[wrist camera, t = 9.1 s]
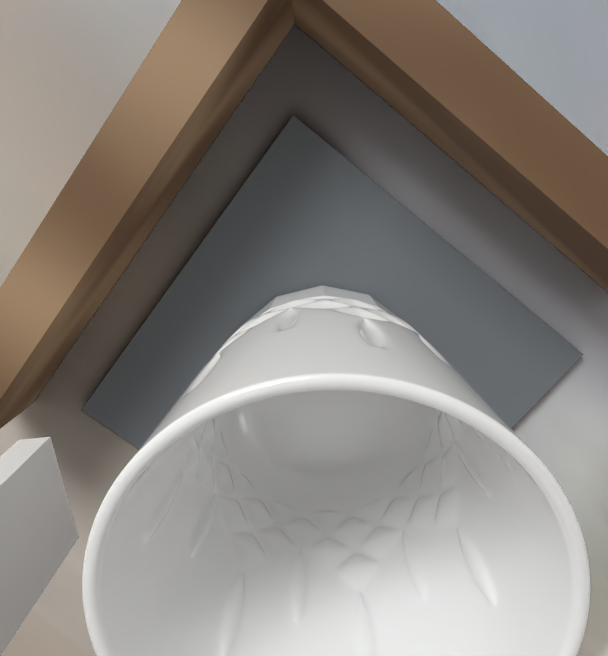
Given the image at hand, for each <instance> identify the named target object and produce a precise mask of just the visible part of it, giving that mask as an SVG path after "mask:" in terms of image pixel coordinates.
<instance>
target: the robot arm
mask: <svg viewBox="0 0 608 656" xmlns="http://www.w3.org/2000/svg"><path fill="white" fill-rule="evenodd" d="M78 538H79V536H78V533H77V529H76V526H75V522H74V518H73V515H72V511H71V508H70V504H69V501H68V497H67V494H66V490H65V486H64V483H63V479H62V476H61V472H60V469H59V465H58V462H57V458H56V454H55V451H54V447H53V444H52V440H51V437H42V438H33V439H23V440H18V441H17V442H16V443H15V444H14V445H13V446H12V447H10V448H9V449H8V450H7V451H6V452H5V453H4V454H2V455H1V456H0V656H1V654H2V653H3V651H4V650H5V648H6V647H7V645H8V644H9V642H10V641H11V639H12V638H13V636H14V634H15V633H16V631H17V630H18V628H19V627H20V625H21V624H22V622H23V621H24V619H25V618H26V616H27V615H28V613H29V612H30V610H31V609H32V607H33V606H34V604H35V603H36V601H37V600H38V598H39V597H40V595H41V594H42V592H43V591H44V589H45V588H46V586H47V584H48V583H49V581H50V580H51V578H52V577H53V575H54V574H55V572H56V571H57V569H58V568H59V566H60V565H61V563H62V562H63V560H64V559H65V557H66V556H67V554H68V553H69V551H70V550H71V548H72V547H73V545H74V544H75V542H76V541H77V539H78Z"/></svg>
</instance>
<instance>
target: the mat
mask: <svg viewBox="0 0 608 656" xmlns="http://www.w3.org/2000/svg"><path fill="white" fill-rule="evenodd" d="M321 285H324V286H329V287H334V288H339V289H344V290H349V291H354V292H359V293H364V294H368V295H370V296H372V297H373V298H374V299H376V300H377V301H378V302H380V303H381V304H382V305H383V306H385V307H386V308H387V309H389V310H390V311H391V312H393V313H394V314H395V315H397V316H398V317H399V318H400V319H402V320H404V321H405V322H406V323H408V324H409V325H410V326H411V327H413V328H414V329H415V330H416V331H417V332H418V333H419V334H420V335H421V336H422V337H423V338H424V339H425V340H426V341H428V342H429V343H430V344H431V345H432V346H433V347H434V348H435V349H436V350H437V351H438V352H439V353H440V354H441V355H442V356H443V357H444V358H445V359H446V360H447V361H448V362H449V363H450V364H451V365H452V366H453V367H454V368H455V369H456V370H457V371H458V373H459V374H460V375H461V376H462V377H463V378H464V379H465V380H466V381H467V382H468V383H469V384H470V386H471V387H472V388H473V389H474V390H475V391H476V392H477V393H478V394H479V395H480V396H481V397H482V398H483V400H484V401H485V402H486V403H487V404H488V405H489V406H490V407H491V408H492V409H493V410H494V411H495V412H496V413H497V415H498V416H499V417H500V418H501V419H502V420H503V421H504V422H505V423H506V424H507V425H508V426H509V427H510V428H512V427H513V426H514V425H515V424H516V423H517V422H518V421H519V420H520V419H521V418H522V417H523V416H524V415H525V414H526V413H527V412H528V411H529V410H530V409H531V408H532V407H533V406H534V405H535V404H536V403H537V402H538V401H539V400H540V399H541V398H542V396H543V395H544V394H545V393H546V392H547V391H548V390H549V389H550V388H551V387H552V386H553V385H554V384H555V383H556V382H557V381H558V380H559V379H560V378H561V377H562V376H563V375H564V374H565V373H566V372H567V371H568V370H569V369H570V368H571V367H572V366H573V364H574V363H575V362H576V361H577V360H578V359H579V358H580V357H581V356H582V355H583V354H582V353H581V352H580V351H579V350H578V349H576V348H575V347H574V346H573V345H572V344H570V343H569V342H568V341H567V340H565V339H564V338H563V337H562V336H561V335H559V334H558V333H557V332H556V331H555V330H553V329H552V328H551V327H550V326H548V325H547V324H546V323H545V322H544V321H542V320H541V319H540V318H539V317H538V316H536V315H535V314H534V313H533V312H531V311H530V310H529V309H528V308H527V307H525V306H524V305H523V304H522V303H521V302H519V301H518V300H517V299H516V298H515V297H513V296H512V295H511V294H510V293H508V292H507V291H506V290H505V289H504V288H502V287H501V286H500V285H499V284H498V283H496V282H495V281H494V280H493V279H491V278H490V277H489V276H488V275H487V274H485V273H484V272H483V271H482V270H481V269H479V268H478V267H477V266H476V265H474V264H473V263H472V262H471V261H470V260H468V259H467V258H466V257H465V256H464V255H462V254H461V253H460V252H459V251H458V250H456V249H455V248H454V247H453V246H451V245H450V244H449V243H448V242H447V241H445V240H444V239H443V238H442V237H441V236H439V235H438V234H437V233H436V232H434V231H433V230H432V229H431V228H430V227H428V226H427V225H426V224H425V223H424V222H422V221H421V220H420V219H419V218H417V217H416V216H415V215H414V214H413V213H411V212H410V211H409V210H408V209H407V208H405V207H404V206H403V205H402V204H400V203H399V202H398V201H397V200H396V199H394V198H393V197H392V196H391V195H390V194H388V193H387V192H386V191H385V190H384V189H382V188H381V187H380V186H379V185H377V184H376V183H375V182H374V181H373V180H371V179H370V178H369V177H368V176H367V175H365V174H364V173H363V172H362V171H360V170H359V169H358V168H357V167H356V166H354V165H353V164H352V163H351V162H350V161H348V160H347V159H346V158H345V157H343V156H342V155H341V154H340V153H339V152H337V151H336V150H335V149H334V148H333V147H331V146H330V145H329V144H328V143H327V142H325V141H324V140H323V139H322V138H320V137H319V136H318V135H317V134H316V133H314V132H313V131H312V130H311V129H310V128H308V127H307V126H306V125H305V124H303V123H302V122H301V121H300V120H299V119H297V118H296V117H295V116H294V115H293V116H292V118H291V119H290V120H289V122H288V123H287V125H286V126H285V127H284V129H283V130H282V131H281V133H280V134H279V136H278V137H277V138H276V140H275V141H274V143H273V144H272V145H271V147H270V148H269V150H268V151H267V152H266V154H265V155H264V157H263V158H262V159H261V161H260V162H259V163H258V165H257V166H256V168H255V169H254V170H253V172H252V173H251V175H250V176H249V177H248V179H247V180H246V182H245V183H244V184H243V186H242V187H241V188H240V190H239V191H238V193H237V194H236V195H235V197H234V198H233V200H232V201H231V202H230V204H229V205H228V207H227V208H226V209H225V211H224V212H223V214H222V215H221V216H220V218H219V219H218V220H217V222H216V223H215V225H214V226H213V227H212V229H211V230H210V232H209V233H208V234H207V236H206V237H205V239H204V240H203V241H202V243H201V244H200V246H199V247H198V248H197V250H196V251H195V252H194V254H193V255H192V257H191V258H190V259H189V261H188V262H187V264H186V265H185V266H184V268H183V269H182V271H181V272H180V273H179V275H178V276H177V277H176V279H175V280H174V282H173V283H172V284H171V286H170V287H169V289H168V290H167V291H166V293H165V294H164V296H163V297H162V298H161V300H160V301H159V303H158V304H157V305H156V307H155V308H154V309H153V311H152V312H151V314H150V315H149V316H148V318H147V319H146V321H145V322H144V323H143V325H142V326H141V328H140V329H139V330H138V332H137V333H136V334H135V336H134V337H133V339H132V340H131V341H130V343H129V344H128V346H127V347H126V348H125V350H124V351H123V353H122V354H121V355H120V357H119V358H118V360H117V361H116V362H115V364H114V365H113V366H112V368H111V369H110V371H109V372H108V373H107V375H106V376H105V378H104V379H103V380H102V382H101V383H100V385H99V386H98V387H97V389H96V390H95V392H94V393H93V394H92V396H91V397H90V398H89V400H88V401H87V403H86V404H85V405H84V407H83V408H82V410H81V411H83V412H84V413H86V414H87V415H89V416H90V417H92V418H93V419H95V420H96V421H98V422H99V423H100V424H102V425H103V426H105V427H106V428H108V429H109V430H111V431H112V432H114V433H115V434H117V435H118V436H120V437H121V438H123V439H124V440H126V441H127V442H129V443H130V444H132V445H133V446H135V447H136V448H138V449H140V448H141V446H142V445H143V444H144V442H145V441H146V440H147V439H148V437H149V436H150V435H151V434H152V432H153V431H154V430H155V429H156V427H157V426H158V425H159V424H160V422H161V421H162V420H163V418H164V417H165V416H166V415H167V413H168V412H169V411H170V409H171V408H172V407H173V406H174V404H175V403H176V402H177V400H178V399H179V398H180V396H181V395H182V394H183V393H184V391H185V390H186V389H187V387H188V386H189V385H190V384H191V382H192V381H193V380H194V378H195V377H196V376H197V374H198V373H199V372H200V371H201V370H202V368H203V367H204V366H205V365H206V364H207V363H208V362H209V361H210V360H211V359H212V358H213V356H214V355H215V354H216V353H217V351H218V350H219V349H220V348H221V347H222V346H223V345H224V343H225V342H226V341H227V340H228V339H229V338H230V337H231V336H232V335H233V334H234V333H235V332H236V331H237V330H238V329H239V328H240V327H241V326H242V325H243V324H244V323H245V322H246V321H247V320H249V319H250V318H251V317H252V316H254V315H255V314H256V313H257V312H258V311H260V310H261V309H262V308H263V307H264V306H266V305H267V304H268V303H269V302H270V301H272V300H273V299H274V298H275V297H277V296H281V295H285V294H289V293H293V292H297V291H301V290H305V289H309V288H313V287H317V286H321Z"/></svg>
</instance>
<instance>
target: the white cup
mask: <svg viewBox="0 0 608 656" xmlns="http://www.w3.org/2000/svg"><path fill="white" fill-rule="evenodd" d="M590 593H591V582H590V568H589V560H588V554H587V549H586V545H585V541H584V538H583V534H582V531H581V528H580V525H579V523H578V520H577V518H576V515H575V513H574V511H573V508H572V506H571V504H570V502H569V500H568V499H567V497H566V495H565V493H564V491H563V490H562V488H561V487H560V485H559V483H558V482H557V481H556V479H555V478H554V476H553V475H552V474H551V472H550V471H549V470H548V468H547V467H546V466H545V465H544V463H543V462H542V461H541V460H540V459H539V458H538V457H537V455H536V454H535V453H534V452H533V451H532V450H531V449H530V448H529V447H528V446H527V445H526V444H525V443H524V442H523V441H522V440H521V439H520V438H519V437H518V436H517V435H516V433H515V432H514V431H513V430H512V429H511V428H510V427H509V426H508V425H507V424H506V423H505V422H504V421H503V420H502V419H501V418H500V417H499V416H498V415H497V413H496V412H495V411H494V410H493V409H492V408H491V407H490V406H489V405H488V404H487V403H486V402H485V401H484V400H483V398H482V397H481V396H480V395H479V394H478V393H477V392H476V391H475V390H474V389H473V388H472V387H471V386H470V384H469V383H468V382H467V381H466V380H465V379H464V378H463V377H462V376H461V375H460V374H459V373H458V371H457V370H456V369H455V368H454V367H453V366H452V365H451V364H450V363H449V362H448V361H447V360H446V359H445V358H444V357H443V356H442V355H441V354H440V353H439V352H438V351H437V350H436V349H435V348H434V347H433V346H432V345H431V344H430V343H429V342H428V341H426V340H425V339H424V338H423V337H422V336H421V335H420V334H419V333H418V332H417V331H416V330H415V329H414V328H413V327H411V326H410V325H409V324H408V323H406V322H405V321H404V320H402V319H400V318H399V317H398V316H397V315H395V314H394V313H393V312H391V311H390V310H389V309H387V308H386V307H385V306H383V305H382V304H381V303H380V302H378V301H377V300H376V299H374V298H373V297H372V296H370V295H368V294H364V293H359V292H354V291H349V290H344V289H339V288H334V287H329V286H324V285H321V286H317V287H313V288H309V289H305V290H301V291H297V292H293V293H289V294H285V295H281V296H277V297H275V298H274V299H273V300H272V301H270V302H269V303H268V304H267V305H266V306H264V307H263V308H262V309H261V310H260V311H258V312H257V313H256V314H255V315H254V316H252V317H251V318H250V319H249V320H247V321H246V322H245V323H244V324H243V325H242V326H241V327H240V328H239V329H238V330H237V331H236V332H235V333H234V334H233V335H232V336H231V337H230V338H229V339H228V340H227V341H226V342H225V343H224V345H223V346H222V347H221V348H220V349H219V350H218V351H217V353H216V354H215V355H214V356H213V358H212V359H211V360H210V361H209V362H208V363H207V364H206V365H205V366H204V367H203V368H202V370H201V371H200V372H199V373H198V374H197V376H196V377H195V378H194V380H193V381H192V382H191V384H190V385H189V386H188V387H187V389H186V390H185V391H184V393H183V394H182V395H181V396H180V398H179V399H178V400H177V402H176V403H175V404H174V406H173V407H172V408H171V409H170V411H169V412H168V413H167V415H166V416H165V417H164V418H163V420H162V421H161V422H160V424H159V425H158V426H157V427H156V429H155V430H154V431H153V432H152V434H151V435H150V436H149V437H148V439H147V440H146V441H145V442H144V444H143V445H142V446H141V448H140V449H139V450H138V451H137V453H136V454H135V455H134V456H133V458H132V459H131V460H130V461H129V463H128V464H127V465H126V466H125V468H124V469H123V470H122V471H121V473H120V474H119V476H118V477H117V478H116V480H115V481H114V483H113V484H112V486H111V488H110V489H109V491H108V493H107V494H106V496H105V498H104V500H103V502H102V504H101V506H100V508H99V510H98V512H97V515H96V517H95V520H94V522H93V525H92V528H91V531H90V535H89V538H88V542H87V546H86V551H85V557H84V564H83V574H82V596H83V607H84V614H85V620H86V625H87V629H88V633H89V636H90V639H91V643H92V645H93V648H94V651H95V653H96V656H577V654H578V652H579V649H580V646H581V643H582V640H583V637H584V633H585V629H586V625H587V620H588V614H589V607H590Z"/></svg>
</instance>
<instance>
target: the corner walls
mask: <svg viewBox="0 0 608 656" xmlns="http://www.w3.org/2000/svg"><path fill="white" fill-rule="evenodd" d="M294 24H295V25H297V26H298V27H299V28H300V29H301V30H303V31H304V32H305V33H306V34H307V35H308V36H310V37H311V38H312V39H313V40H314V41H315V42H317V43H318V44H319V45H320V46H321V47H322V48H324V49H325V50H326V51H327V52H328V53H329V54H331V55H332V56H333V57H334V58H335V59H336V60H338V61H339V62H340V63H341V64H342V65H343V66H345V67H346V68H347V69H348V70H349V71H350V72H352V73H353V74H354V75H355V76H356V77H357V78H359V79H360V80H361V81H362V82H363V83H364V84H366V85H367V86H368V87H369V88H370V89H371V90H373V91H374V92H375V93H376V94H377V95H378V96H380V97H381V98H382V99H383V100H384V101H385V102H387V103H388V104H389V105H390V106H391V107H392V108H394V109H395V110H396V111H397V112H398V113H399V114H401V115H402V116H403V117H404V118H405V119H406V120H408V121H409V122H410V123H411V124H412V125H413V126H415V127H416V128H417V129H418V130H419V131H420V132H422V133H423V134H424V135H425V136H426V137H427V138H429V139H430V140H431V141H432V142H433V143H434V144H436V145H437V146H438V147H439V148H440V149H441V150H443V151H444V152H445V153H446V154H447V155H448V156H450V157H451V158H452V159H453V160H454V161H456V162H457V163H458V164H459V165H460V166H461V167H463V168H464V169H465V170H466V171H467V172H468V173H470V174H471V175H472V176H473V177H474V178H475V179H477V180H478V181H479V182H480V183H481V184H482V185H484V186H485V187H486V188H487V189H488V190H489V191H491V192H492V193H493V194H494V195H495V196H496V197H498V198H499V199H500V200H501V201H502V202H503V203H505V204H506V205H507V206H508V207H509V208H510V209H512V210H513V211H514V212H515V213H516V214H517V215H519V216H520V217H521V218H522V219H523V220H524V221H526V222H527V223H528V224H529V225H530V226H531V227H533V228H534V229H535V230H536V231H537V232H538V233H540V234H541V235H542V236H543V237H544V238H545V239H547V240H548V241H549V242H550V243H551V244H552V245H554V246H555V247H556V248H557V249H558V250H559V251H561V252H562V253H563V254H564V255H565V256H566V257H568V258H569V259H570V260H571V261H572V262H573V263H575V264H576V265H577V266H578V267H579V268H580V269H582V270H583V271H584V272H585V273H586V274H587V275H589V276H590V277H591V278H592V279H593V280H594V281H596V282H597V283H598V284H599V285H600V286H601V287H603V288H604V289H605V290H606V291H607V292H608V156H607V155H606V154H604V153H603V152H602V151H601V150H600V149H599V148H598V147H597V146H596V145H595V144H593V143H592V142H591V141H590V140H589V139H588V138H587V137H586V136H585V135H584V134H582V133H581V132H580V131H579V130H578V129H577V128H576V127H575V126H574V125H572V124H571V123H570V122H569V121H568V120H567V119H566V118H565V117H564V116H563V115H561V114H560V113H559V112H558V111H557V110H556V109H555V108H554V107H553V106H552V105H550V104H549V103H548V102H547V101H546V100H545V99H544V98H543V97H542V96H541V95H539V94H538V93H537V92H536V91H535V90H534V89H533V88H532V87H531V86H530V85H528V84H527V83H526V82H525V81H524V80H523V79H522V78H521V77H520V76H519V75H517V74H516V73H515V72H514V71H513V70H512V69H511V68H510V67H509V66H508V65H506V64H505V63H504V62H503V61H502V60H501V59H500V58H499V57H498V56H497V55H495V54H494V53H493V52H492V51H491V50H490V49H489V48H488V47H487V46H486V45H484V44H483V43H482V42H481V41H480V40H479V39H478V38H477V37H476V36H475V35H473V34H472V33H471V32H470V31H469V30H468V29H467V28H466V27H465V26H463V25H462V24H461V23H460V22H459V21H458V20H457V19H456V18H455V17H454V16H452V15H451V14H450V13H449V12H448V11H447V10H446V9H445V8H444V7H443V6H441V5H440V4H439V3H438V2H437V1H436V0H182V1H181V3H180V4H179V6H178V7H177V9H176V10H175V12H174V14H173V15H172V17H171V18H170V20H169V22H168V23H167V25H166V26H165V28H164V30H163V31H162V33H161V34H160V36H159V37H158V39H157V41H156V42H155V44H154V45H153V47H152V49H151V50H150V52H149V53H148V55H147V56H146V58H145V60H144V61H143V63H142V64H141V66H140V68H139V69H138V71H137V72H136V74H135V75H134V77H133V79H132V80H131V82H130V83H129V85H128V87H127V88H126V90H125V91H124V93H123V94H122V96H121V98H120V99H119V101H118V102H117V104H116V106H115V107H114V109H113V110H112V112H111V113H110V115H109V117H108V118H107V120H106V121H105V123H104V125H103V126H102V128H101V129H100V131H99V132H98V134H97V136H96V137H95V139H94V140H93V142H92V144H91V145H90V147H89V148H88V150H87V151H86V153H85V155H84V156H83V158H82V159H81V161H80V163H79V164H78V166H77V167H76V169H75V171H74V172H73V174H72V175H71V177H70V178H69V180H68V182H67V183H66V185H65V186H64V188H63V190H62V191H61V193H60V194H59V196H58V197H57V199H56V201H55V202H54V204H53V205H52V207H51V209H50V210H49V212H48V213H47V215H46V216H45V218H44V220H43V221H42V223H41V224H40V226H39V228H38V229H37V231H36V232H35V234H34V235H33V237H32V239H31V240H30V242H29V243H28V245H27V247H26V248H25V250H24V251H23V253H22V254H21V256H20V258H19V259H18V261H17V262H16V264H15V266H14V267H13V269H12V270H11V272H10V273H9V275H8V277H7V278H6V280H5V281H4V283H3V285H2V286H1V288H0V428H2V427H3V426H4V425H5V424H7V423H8V422H9V421H11V420H12V419H13V418H14V417H16V416H17V415H18V414H20V413H21V412H22V411H23V410H25V409H26V408H27V407H29V406H30V405H31V404H32V403H33V402H34V401H35V400H36V398H37V397H38V395H39V394H40V392H41V391H42V389H43V388H44V386H45V385H46V384H47V382H48V381H49V379H50V378H51V376H52V375H53V373H54V372H55V371H56V369H57V368H58V366H59V365H60V363H61V362H62V360H63V359H64V357H65V356H66V355H67V353H68V352H69V350H70V349H71V347H72V346H73V344H74V343H75V342H76V340H77V339H78V337H79V336H80V334H81V333H82V331H83V330H84V328H85V327H86V326H87V324H88V323H89V321H90V320H91V318H92V317H93V315H94V314H95V313H96V311H97V310H98V308H99V307H100V305H101V304H102V302H103V301H104V299H105V298H106V297H107V295H108V294H109V292H110V291H111V289H112V288H113V286H114V285H115V284H116V282H117V281H118V279H119V278H120V276H121V275H122V273H123V272H124V270H125V269H126V268H127V266H128V265H129V263H130V262H131V260H132V259H133V257H134V256H135V255H136V253H137V252H138V250H139V249H140V247H141V246H142V244H143V243H144V241H145V240H146V239H147V237H148V236H149V234H150V233H151V231H152V230H153V228H154V227H155V226H156V224H157V223H158V221H159V220H160V218H161V217H162V215H163V214H164V212H165V211H166V210H167V208H168V207H169V205H170V204H171V202H172V201H173V199H174V198H175V197H176V195H177V194H178V192H179V191H180V189H181V188H182V186H183V185H184V183H185V182H186V181H187V179H188V178H189V176H190V175H191V173H192V172H193V170H194V169H195V168H196V166H197V165H198V163H199V162H200V160H201V159H202V157H203V156H204V154H205V153H206V152H207V150H208V149H209V147H210V146H211V144H212V143H213V141H214V140H215V139H216V137H217V136H218V134H219V133H220V131H221V130H222V128H223V127H224V125H225V124H226V123H227V121H228V120H229V118H230V117H231V115H232V114H233V112H234V111H235V110H236V108H237V107H238V105H239V104H240V102H241V101H242V99H243V98H244V96H245V95H246V94H247V92H248V91H249V89H250V88H251V86H252V85H253V83H254V82H255V81H256V79H257V78H258V76H259V75H260V73H261V72H262V70H263V69H264V67H265V66H266V65H267V63H268V62H269V60H270V59H271V57H272V56H273V54H274V53H275V52H276V50H277V49H278V47H279V46H280V44H281V43H282V41H283V40H284V38H285V37H286V36H287V34H288V33H289V31H290V30H291V28H292V27H293V25H294Z"/></svg>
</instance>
